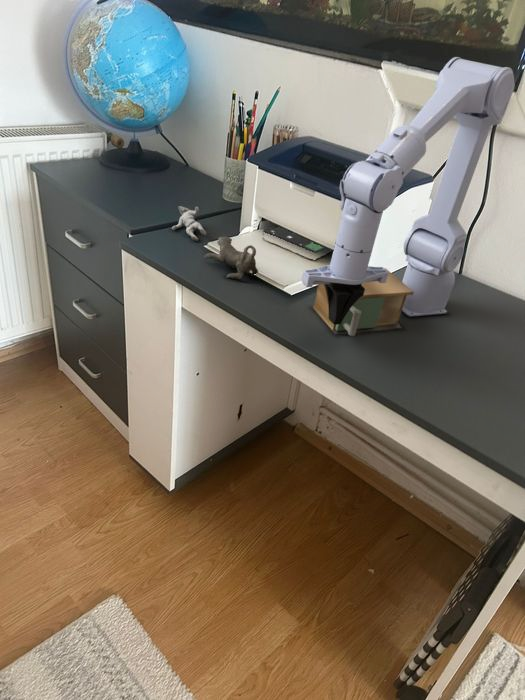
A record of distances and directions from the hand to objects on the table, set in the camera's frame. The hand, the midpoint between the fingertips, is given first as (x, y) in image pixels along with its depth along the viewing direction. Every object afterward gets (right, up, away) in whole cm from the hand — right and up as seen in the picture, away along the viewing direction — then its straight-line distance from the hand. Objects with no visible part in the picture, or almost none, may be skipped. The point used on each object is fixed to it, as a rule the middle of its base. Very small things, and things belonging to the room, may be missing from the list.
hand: (334, 321), depth 87 cm
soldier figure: (-29, +23, +34) cm, 50 cm away
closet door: (+5, -2, +6) cm, 8 cm away
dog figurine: (-18, +11, +20) cm, 29 cm away
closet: (+5, +2, +12) cm, 13 cm away
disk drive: (-3, +20, +37) cm, 42 cm away
